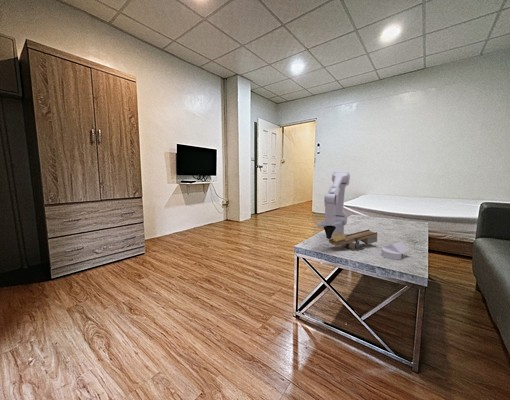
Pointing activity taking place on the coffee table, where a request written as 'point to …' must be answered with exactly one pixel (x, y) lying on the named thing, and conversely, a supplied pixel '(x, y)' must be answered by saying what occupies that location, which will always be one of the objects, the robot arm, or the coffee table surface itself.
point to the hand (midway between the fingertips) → (328, 238)
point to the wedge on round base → (394, 251)
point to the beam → (364, 236)
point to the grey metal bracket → (353, 245)
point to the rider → (338, 237)
